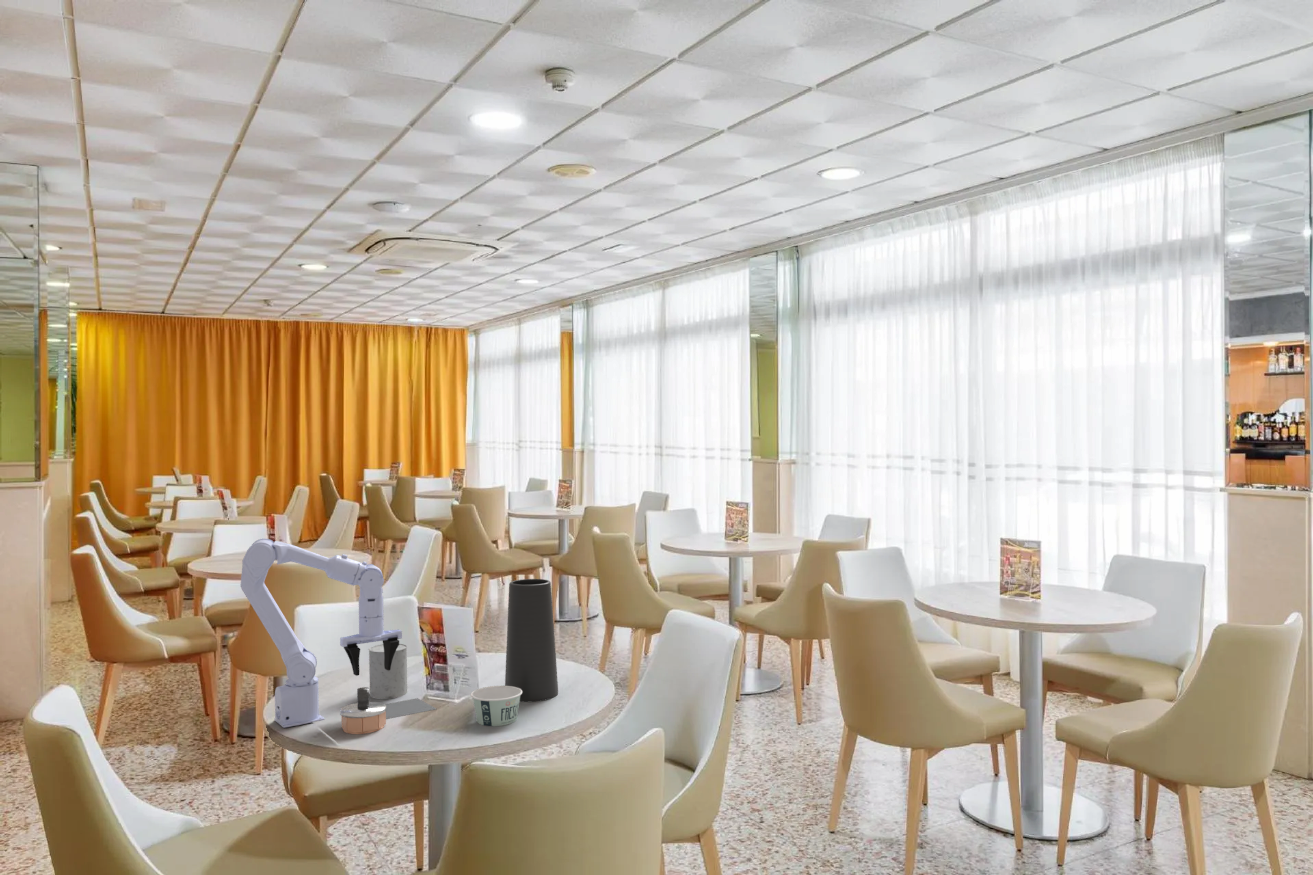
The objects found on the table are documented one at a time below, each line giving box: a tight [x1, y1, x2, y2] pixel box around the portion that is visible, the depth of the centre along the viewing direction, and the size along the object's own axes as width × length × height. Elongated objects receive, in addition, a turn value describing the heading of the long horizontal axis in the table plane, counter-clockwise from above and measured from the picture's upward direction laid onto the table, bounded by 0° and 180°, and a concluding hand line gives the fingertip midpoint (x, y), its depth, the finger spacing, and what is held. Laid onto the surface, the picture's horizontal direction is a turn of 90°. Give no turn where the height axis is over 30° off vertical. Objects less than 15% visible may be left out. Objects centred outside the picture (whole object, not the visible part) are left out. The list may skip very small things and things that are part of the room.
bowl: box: [340, 711, 387, 735], centre depth 214 cm, size 9×9×4 cm
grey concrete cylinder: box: [368, 643, 408, 700], centre depth 242 cm, size 10×10×12 cm
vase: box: [504, 578, 559, 703], centre depth 241 cm, size 14×14×29 cm
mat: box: [384, 697, 437, 720], centre depth 228 cm, size 14×12×1 cm
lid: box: [339, 686, 386, 718], centre depth 214 cm, size 10×10×5 cm
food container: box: [470, 685, 522, 727], centre depth 220 cm, size 12×12×6 cm
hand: (372, 672), depth 226 cm, fingers open, 7 cm apart
